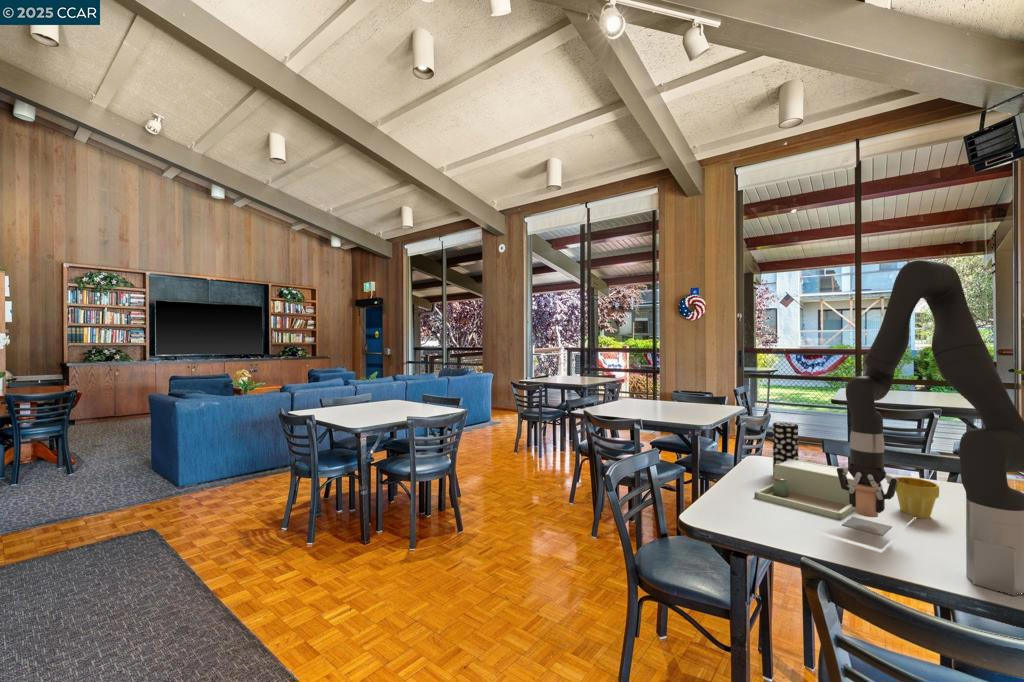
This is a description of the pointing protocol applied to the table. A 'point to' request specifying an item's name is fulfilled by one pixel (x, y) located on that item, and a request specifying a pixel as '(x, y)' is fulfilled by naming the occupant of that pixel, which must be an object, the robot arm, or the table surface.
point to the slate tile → (867, 526)
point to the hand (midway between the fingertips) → (866, 509)
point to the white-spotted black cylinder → (784, 442)
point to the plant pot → (917, 496)
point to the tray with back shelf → (811, 489)
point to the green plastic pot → (780, 487)
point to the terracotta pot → (865, 500)
